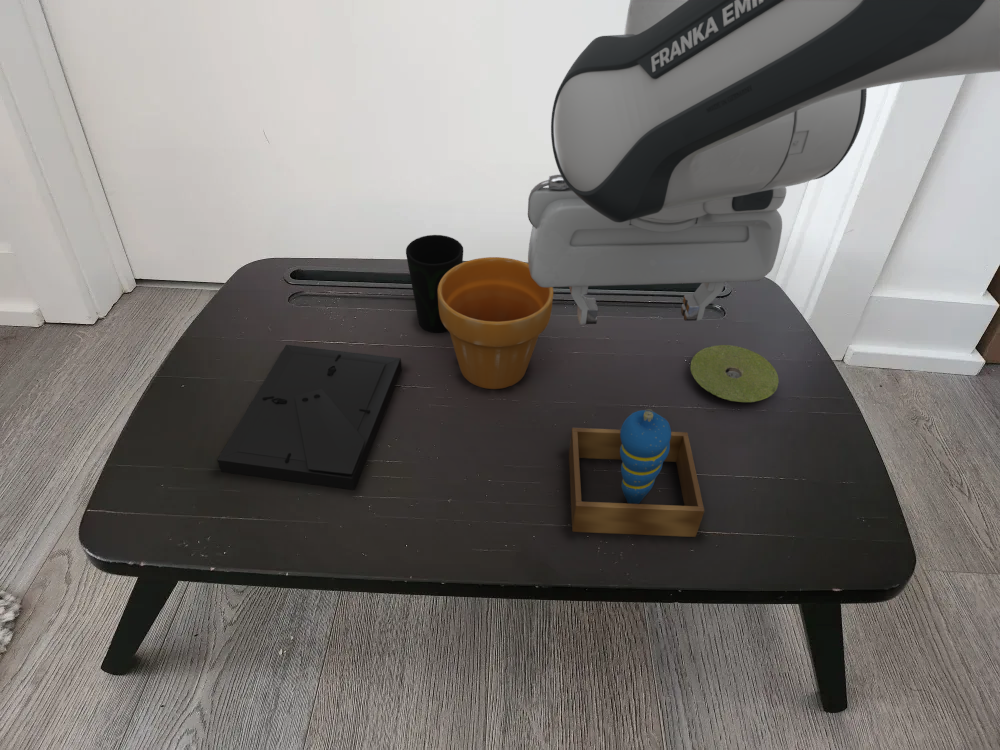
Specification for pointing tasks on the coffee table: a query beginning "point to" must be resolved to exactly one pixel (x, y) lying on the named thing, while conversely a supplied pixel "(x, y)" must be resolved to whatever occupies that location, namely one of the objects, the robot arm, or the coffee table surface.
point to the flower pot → (493, 318)
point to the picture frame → (313, 418)
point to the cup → (431, 275)
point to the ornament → (642, 452)
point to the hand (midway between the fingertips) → (638, 318)
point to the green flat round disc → (734, 373)
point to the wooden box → (633, 515)
